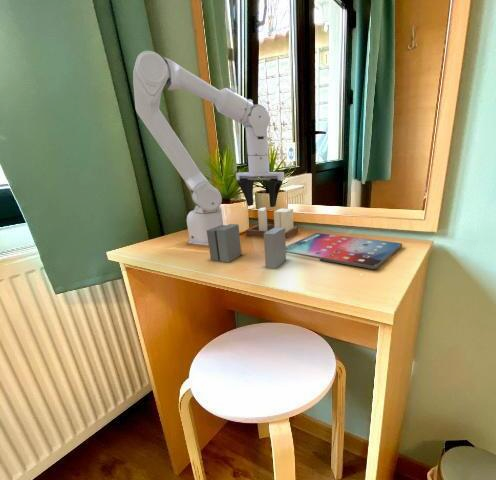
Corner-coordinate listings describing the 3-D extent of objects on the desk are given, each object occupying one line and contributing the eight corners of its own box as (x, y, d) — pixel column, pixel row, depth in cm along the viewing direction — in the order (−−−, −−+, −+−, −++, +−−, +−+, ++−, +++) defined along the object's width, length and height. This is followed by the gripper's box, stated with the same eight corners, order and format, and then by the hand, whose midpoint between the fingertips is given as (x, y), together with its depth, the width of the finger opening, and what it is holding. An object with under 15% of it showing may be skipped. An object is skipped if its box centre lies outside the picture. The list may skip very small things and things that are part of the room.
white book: (259, 234, 89) (257, 210, 86) (261, 230, 94) (260, 207, 91) (265, 234, 89) (263, 210, 86) (267, 230, 94) (266, 207, 91)
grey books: (210, 260, 71) (206, 228, 68) (224, 253, 76) (220, 223, 73) (275, 268, 65) (273, 234, 62) (286, 260, 69) (285, 227, 66)
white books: (274, 235, 87) (273, 211, 85) (282, 231, 92) (281, 208, 89) (286, 236, 86) (285, 212, 83) (293, 232, 90) (293, 208, 87)
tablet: (316, 234, 89) (316, 232, 88) (403, 246, 75) (403, 243, 75) (277, 252, 75) (277, 249, 74) (376, 271, 61) (376, 267, 61)
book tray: (246, 237, 90) (245, 230, 89) (259, 230, 96) (259, 223, 96) (286, 240, 85) (286, 233, 84) (298, 233, 91) (297, 226, 91)
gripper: (288, 154, 83) (289, 204, 88) (244, 155, 89) (248, 202, 94) (276, 155, 77) (278, 208, 83) (229, 156, 83) (234, 206, 89)
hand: (261, 205), depth 88 cm, fingers open, 7 cm apart
